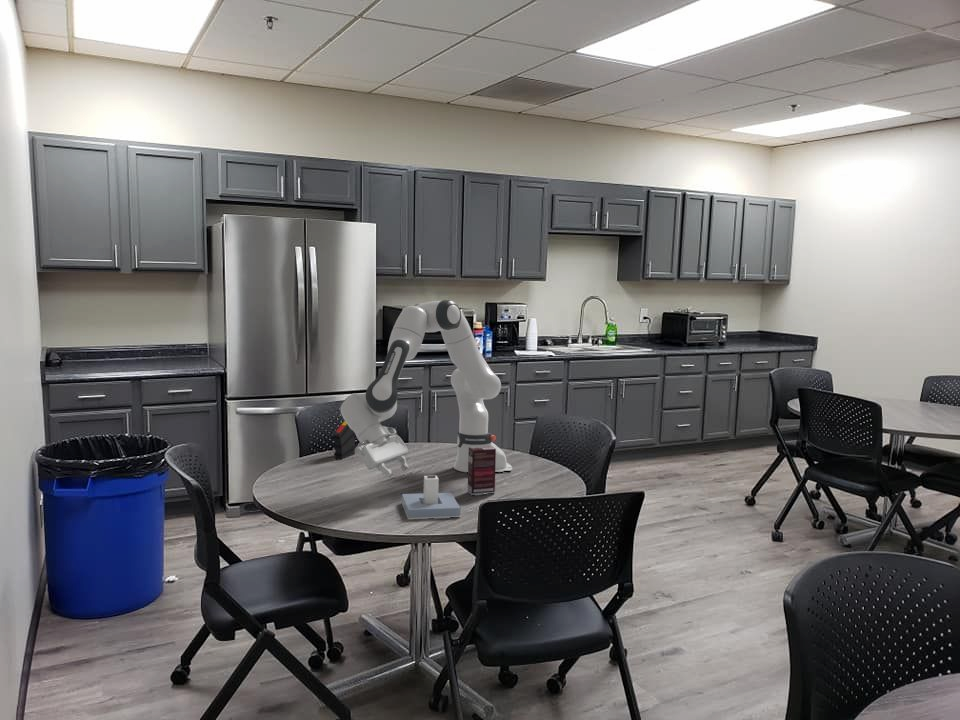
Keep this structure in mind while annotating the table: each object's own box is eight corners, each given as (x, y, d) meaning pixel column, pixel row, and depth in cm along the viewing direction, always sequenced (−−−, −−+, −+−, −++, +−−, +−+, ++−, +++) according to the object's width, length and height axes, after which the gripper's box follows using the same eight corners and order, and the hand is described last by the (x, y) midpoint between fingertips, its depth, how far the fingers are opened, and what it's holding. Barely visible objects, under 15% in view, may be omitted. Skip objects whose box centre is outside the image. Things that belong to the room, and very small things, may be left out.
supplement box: (489, 490, 249) (491, 445, 248) (495, 494, 245) (496, 448, 243) (466, 492, 246) (468, 446, 245) (471, 496, 242) (472, 450, 240)
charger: (435, 506, 228) (436, 473, 227) (437, 510, 224) (438, 476, 223) (423, 506, 227) (424, 473, 226) (425, 510, 223) (426, 477, 222)
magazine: (359, 448, 296) (352, 418, 289) (344, 468, 286) (337, 438, 278) (351, 447, 298) (344, 417, 290) (336, 467, 287) (328, 437, 279)
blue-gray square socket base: (450, 501, 235) (450, 492, 235) (460, 517, 220) (460, 507, 219) (401, 503, 232) (402, 494, 231) (408, 519, 216) (408, 509, 216)
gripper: (360, 438, 223) (386, 474, 220) (397, 427, 241) (421, 460, 238) (348, 450, 226) (373, 485, 222) (385, 438, 244) (409, 471, 241)
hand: (398, 472), depth 230 cm, fingers open, 8 cm apart
